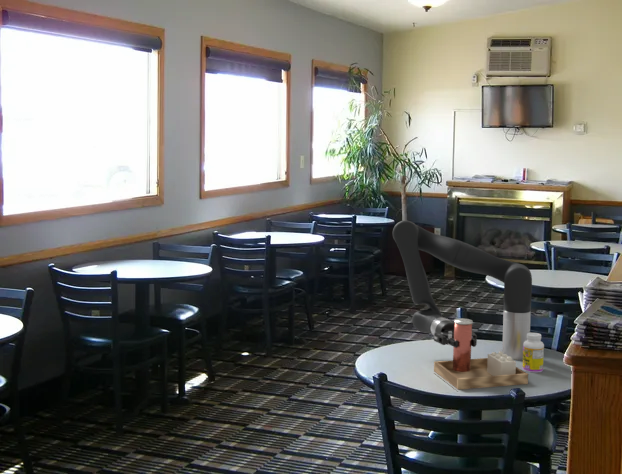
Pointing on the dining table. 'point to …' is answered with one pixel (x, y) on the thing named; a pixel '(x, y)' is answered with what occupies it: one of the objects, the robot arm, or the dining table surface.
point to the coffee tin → (462, 345)
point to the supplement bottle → (533, 353)
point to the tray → (477, 375)
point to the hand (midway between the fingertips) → (465, 344)
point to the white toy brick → (500, 364)
